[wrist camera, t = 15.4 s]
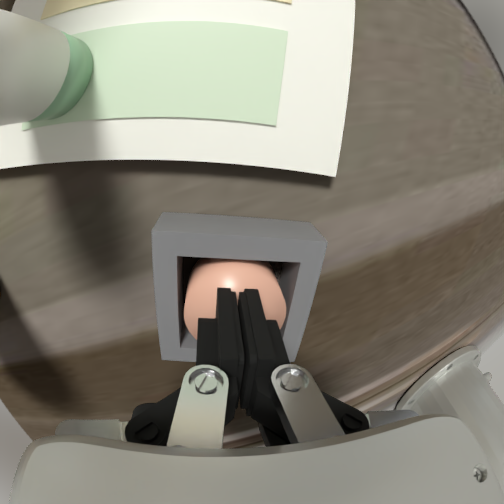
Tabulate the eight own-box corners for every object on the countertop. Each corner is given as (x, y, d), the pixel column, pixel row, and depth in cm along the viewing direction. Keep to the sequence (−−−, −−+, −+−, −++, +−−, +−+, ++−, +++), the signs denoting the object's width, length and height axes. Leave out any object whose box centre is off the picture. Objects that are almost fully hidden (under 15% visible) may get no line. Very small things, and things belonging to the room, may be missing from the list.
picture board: (348, -49, 6) (355, -56, 6) (328, 173, 12) (336, 177, 11) (41, -40, 4) (35, -44, 3) (-4, 167, 9) (-13, 171, 9)
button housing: (310, 222, 13) (327, 241, 11) (285, 333, 16) (294, 361, 14) (162, 211, 12) (151, 230, 10) (166, 329, 15) (162, 359, 13)
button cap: (282, 249, 13) (295, 274, 11) (268, 321, 15) (276, 352, 13) (188, 243, 12) (183, 268, 10) (188, 319, 14) (185, 350, 12)
